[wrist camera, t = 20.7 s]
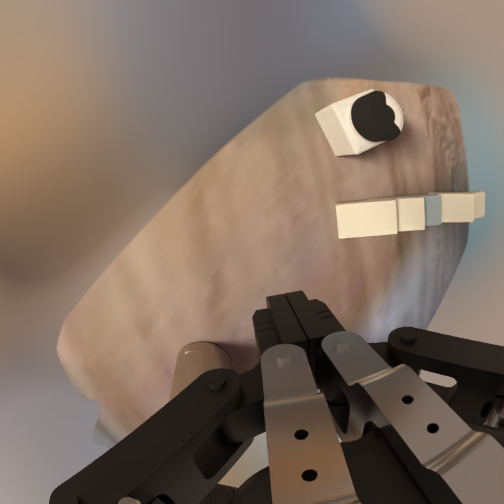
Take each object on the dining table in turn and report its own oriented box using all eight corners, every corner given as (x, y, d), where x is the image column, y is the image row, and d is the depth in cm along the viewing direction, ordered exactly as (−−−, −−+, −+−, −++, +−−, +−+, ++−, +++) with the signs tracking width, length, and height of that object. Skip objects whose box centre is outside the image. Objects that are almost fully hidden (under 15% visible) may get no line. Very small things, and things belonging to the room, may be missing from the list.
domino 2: (369, 230, 42) (421, 226, 39) (371, 233, 40) (424, 229, 38) (367, 199, 41) (420, 196, 38) (369, 200, 39) (423, 197, 36)
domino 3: (391, 226, 42) (436, 222, 41) (395, 229, 41) (441, 224, 39) (390, 196, 41) (435, 193, 40) (394, 197, 39) (440, 195, 38)
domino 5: (452, 219, 42) (478, 215, 43) (458, 221, 41) (484, 216, 41) (452, 193, 41) (478, 190, 41) (458, 194, 39) (484, 191, 40)
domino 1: (338, 235, 42) (394, 230, 39) (339, 238, 40) (397, 233, 38) (335, 203, 40) (392, 198, 38) (335, 205, 39) (395, 200, 36)
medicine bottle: (335, 157, 39) (376, 154, 27) (313, 114, 36) (347, 94, 25) (371, 140, 38) (418, 133, 27) (351, 98, 36) (393, 79, 25)
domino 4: (428, 220, 43) (470, 219, 39) (430, 222, 41) (473, 222, 38) (428, 192, 42) (470, 192, 38) (430, 193, 40) (474, 194, 36)
